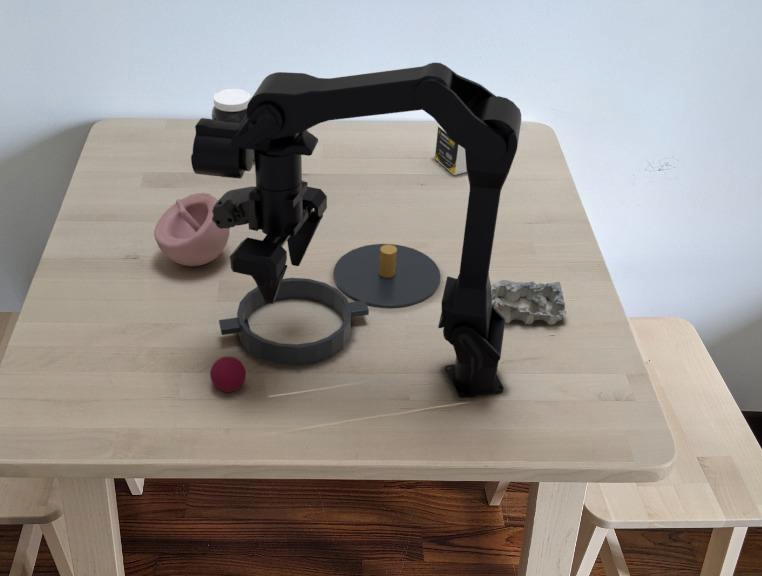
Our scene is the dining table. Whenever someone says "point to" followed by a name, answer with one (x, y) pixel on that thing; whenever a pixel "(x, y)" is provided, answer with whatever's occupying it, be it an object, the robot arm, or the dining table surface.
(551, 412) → the dining table surface
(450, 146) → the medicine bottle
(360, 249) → the pot lid
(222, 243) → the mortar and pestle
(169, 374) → the dining table surface
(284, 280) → the pot
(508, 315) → the egg carton
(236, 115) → the spread jar
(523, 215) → the dining table surface
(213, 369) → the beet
